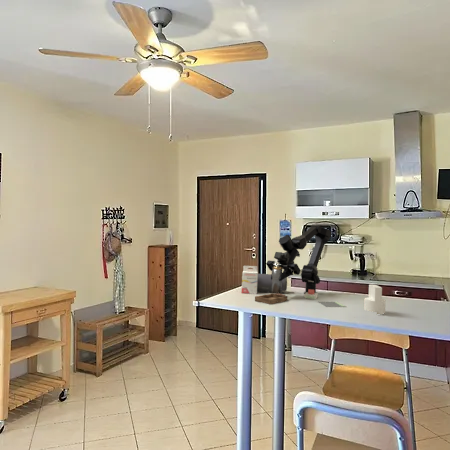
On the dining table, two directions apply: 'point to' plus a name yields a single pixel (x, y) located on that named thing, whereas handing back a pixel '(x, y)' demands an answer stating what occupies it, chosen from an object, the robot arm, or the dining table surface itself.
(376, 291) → the base with upright slab
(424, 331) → the dining table surface
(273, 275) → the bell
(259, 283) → the bluetooth speaker
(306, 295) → the white square base
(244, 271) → the ink cartridge box
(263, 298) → the wooden tray
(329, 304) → the grey flat panel
